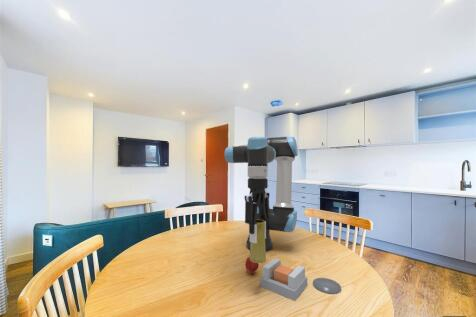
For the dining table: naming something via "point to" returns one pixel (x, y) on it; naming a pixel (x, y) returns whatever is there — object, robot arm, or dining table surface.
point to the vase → (258, 244)
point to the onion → (251, 266)
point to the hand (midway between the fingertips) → (257, 239)
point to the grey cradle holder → (292, 290)
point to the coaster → (326, 285)
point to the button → (282, 274)
